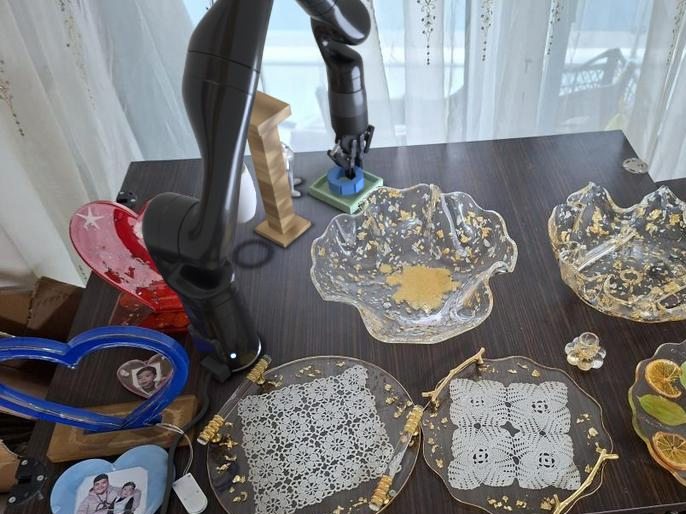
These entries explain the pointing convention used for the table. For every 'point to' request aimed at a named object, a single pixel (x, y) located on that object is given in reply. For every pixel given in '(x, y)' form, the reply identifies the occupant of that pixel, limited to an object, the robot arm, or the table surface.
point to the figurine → (290, 169)
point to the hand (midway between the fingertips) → (354, 175)
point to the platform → (273, 171)
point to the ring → (347, 186)
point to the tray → (344, 201)
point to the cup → (246, 197)
